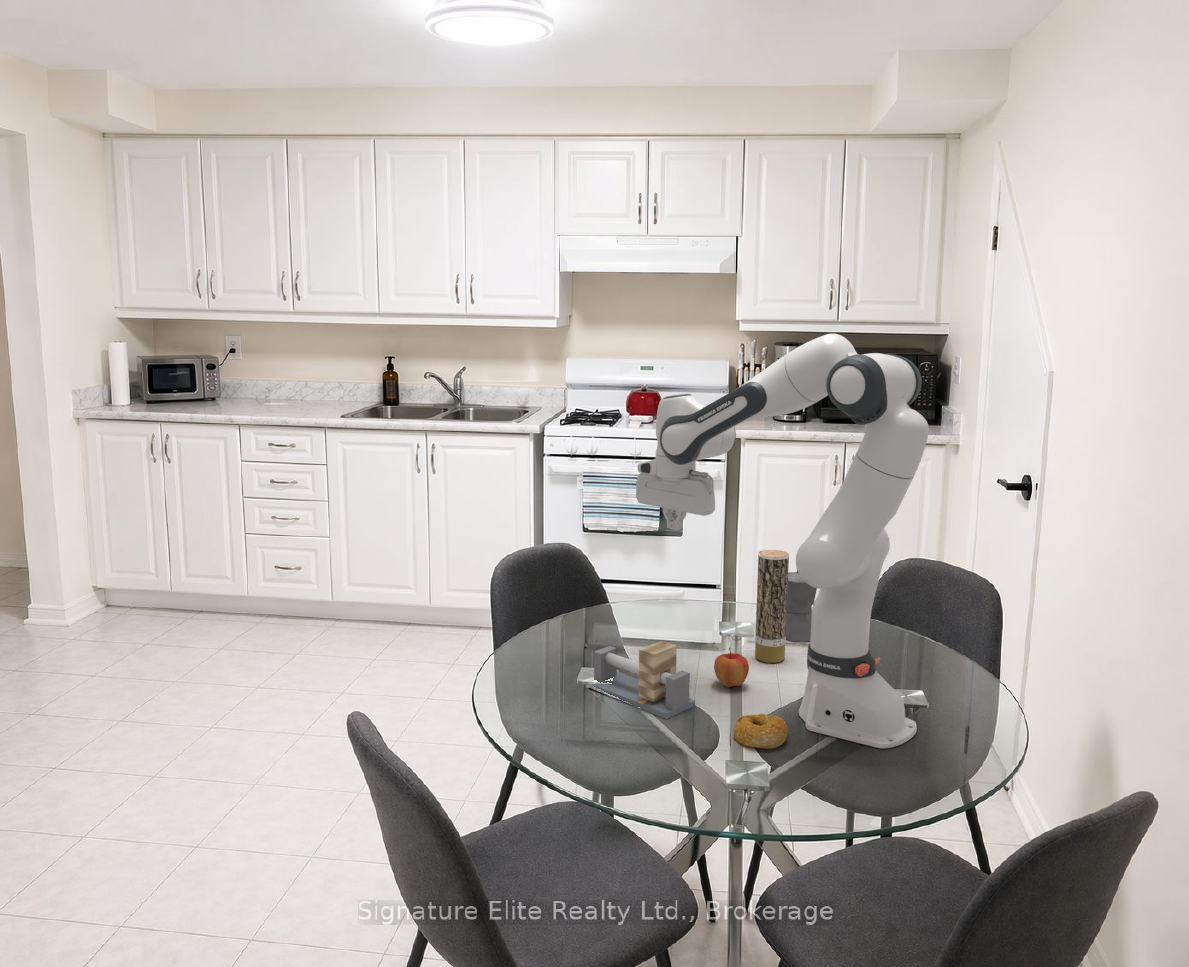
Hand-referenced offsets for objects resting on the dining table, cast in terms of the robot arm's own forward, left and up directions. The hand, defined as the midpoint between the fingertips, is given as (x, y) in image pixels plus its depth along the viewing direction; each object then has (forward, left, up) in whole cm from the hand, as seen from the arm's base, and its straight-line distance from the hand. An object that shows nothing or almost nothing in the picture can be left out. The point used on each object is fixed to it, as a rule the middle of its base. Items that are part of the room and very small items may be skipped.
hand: (674, 528), depth 212 cm
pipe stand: (-8, +20, -31) cm, 38 cm away
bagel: (-37, +18, -32) cm, 52 cm away
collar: (-13, +20, -29) cm, 38 cm away
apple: (-18, +2, -31) cm, 36 cm away
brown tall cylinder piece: (-15, -17, -31) cm, 39 cm away
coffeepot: (-12, -35, -31) cm, 49 cm away
